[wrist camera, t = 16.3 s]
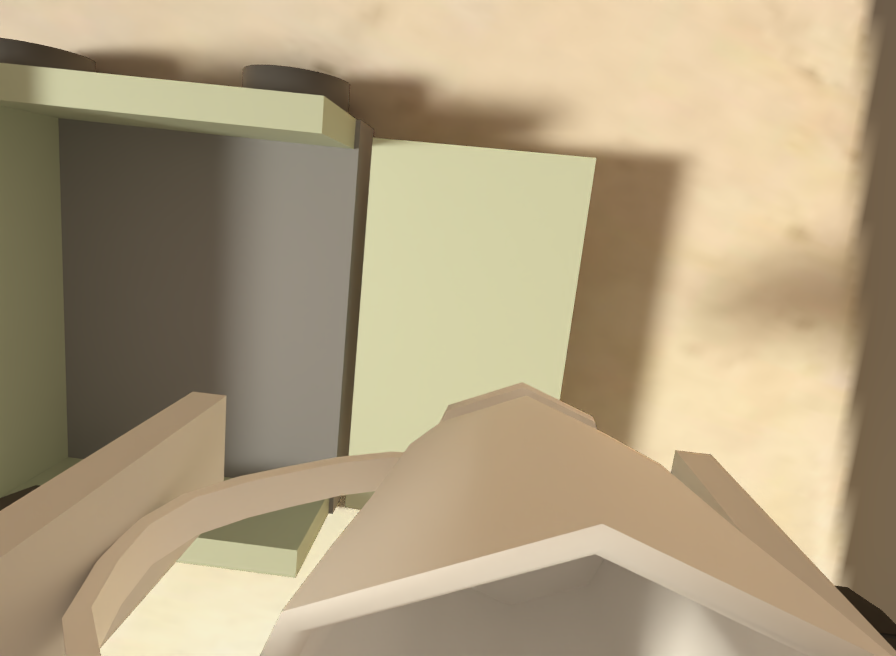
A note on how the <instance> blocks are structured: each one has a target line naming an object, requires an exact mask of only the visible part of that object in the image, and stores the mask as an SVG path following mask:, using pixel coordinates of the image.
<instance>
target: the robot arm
mask: <svg viewBox="0 0 896 656" xmlns="http://www.w3.org/2000/svg"><path fill="white" fill-rule="evenodd" d="M225 425H226V396H225V395H217V394H209V393H201V392H191V393H190V394H188V395H187V396H185V397H183V398H182V399H180V400H178V401H177V402H175V403H174V404H172V405H170V406H169V407H167V408H166V409H164V410H162V411H161V412H159V413H157V414H156V415H154V416H153V417H151V418H149V419H148V420H146V421H145V422H143V423H141V424H140V425H138V426H137V427H135V428H133V429H132V430H130V431H128V432H127V433H125V434H124V435H122V436H120V437H119V438H117V439H116V440H114V441H112V442H111V443H109V444H107V445H106V446H104V447H103V448H101V449H99V450H98V451H96V452H95V453H93V454H91V455H90V456H88V457H86V458H85V459H83V460H82V461H80V462H78V463H77V464H75V465H74V466H72V467H70V468H69V469H67V470H65V471H64V472H62V473H61V474H59V475H57V476H56V477H54V478H53V479H51V480H49V481H48V482H46V483H45V484H43V485H41V486H40V485H35V486H32V487H29V488H26V489H24V490H21V491H18V492H15V493H12V494H10V495H7V496H4V497H1V498H0V656H65V648H64V636H63V625H62V617H63V616H64V614H65V613H66V611H67V609H68V608H69V606H70V604H71V603H72V601H73V599H74V598H75V596H76V595H77V593H78V591H79V590H80V588H81V586H82V585H83V583H84V582H85V580H86V578H87V577H88V575H89V573H90V572H91V570H92V568H93V567H94V565H95V564H96V562H97V560H98V559H99V558H100V557H101V556H102V555H103V554H104V553H105V552H106V551H107V550H108V549H109V548H110V547H111V546H112V545H113V544H114V543H115V542H116V540H117V539H118V538H120V537H121V536H122V535H123V534H124V533H125V532H126V531H127V530H128V529H130V528H131V527H132V526H133V525H134V524H135V523H136V522H137V521H138V520H139V519H141V518H142V517H144V516H146V515H147V514H149V513H151V512H153V511H154V510H156V509H158V508H159V507H161V506H163V505H165V504H166V503H168V502H170V501H172V500H173V499H175V498H177V497H179V496H180V495H182V494H184V493H188V492H191V491H194V490H197V489H200V488H203V487H207V486H210V485H213V484H216V483H219V482H222V481H224V458H225ZM671 473H672V474H673V475H674V476H675V477H676V478H677V479H679V480H680V481H681V482H682V483H683V484H684V485H686V486H687V487H688V488H689V489H690V490H691V491H693V492H694V493H695V494H696V495H697V496H698V497H700V498H701V499H702V500H703V501H704V502H706V503H707V504H708V505H709V506H710V507H711V508H713V509H714V510H715V511H716V512H717V513H718V514H720V515H721V516H722V517H723V518H724V519H725V520H727V521H728V522H729V523H730V524H731V525H732V526H734V527H735V528H736V529H737V530H738V531H740V532H741V533H742V534H743V535H745V536H746V537H747V538H749V539H750V540H751V541H752V542H754V543H755V544H756V545H757V546H759V547H760V548H761V549H762V550H764V551H765V552H766V553H767V554H769V555H770V556H771V557H772V558H774V559H775V560H776V561H777V562H779V563H780V564H781V565H782V566H784V567H785V568H786V569H787V570H789V571H790V572H791V573H793V574H794V575H795V576H796V577H798V578H799V579H800V580H801V581H803V582H804V583H805V584H806V585H808V586H809V587H810V588H811V589H812V590H814V591H815V592H816V593H817V594H818V595H820V596H821V597H822V598H823V599H824V600H826V601H827V602H828V603H829V604H830V605H832V606H833V607H834V608H835V609H836V610H838V611H839V612H840V613H841V614H842V615H844V616H845V617H846V618H847V619H848V620H850V621H851V622H852V623H853V624H854V625H856V626H857V627H858V628H859V629H860V630H862V631H863V632H864V633H865V634H866V635H868V636H869V637H870V638H871V639H872V640H874V641H875V642H876V643H877V644H878V645H880V646H881V647H882V648H883V649H884V650H886V651H887V652H888V653H889V654H890V655H892V656H896V624H895V623H894V622H893V621H892V620H891V619H890V618H889V617H888V616H887V615H886V614H885V613H884V612H883V611H882V610H880V609H879V608H878V607H876V606H874V605H873V604H872V603H870V602H868V601H867V600H866V599H864V598H863V597H861V596H860V595H858V594H856V593H855V592H854V591H852V590H851V589H849V588H848V587H841V586H834V585H833V584H832V583H831V582H830V580H829V579H828V578H827V577H826V576H825V575H824V574H823V573H822V572H821V571H820V570H819V569H818V568H817V567H816V566H815V565H814V563H813V562H812V561H811V560H810V559H809V558H808V557H807V556H806V555H805V554H804V553H803V552H802V551H801V550H800V549H799V548H798V546H797V545H796V544H795V543H794V542H793V541H792V540H791V539H790V538H789V537H788V536H787V535H786V534H785V533H784V532H783V531H782V529H781V528H780V527H779V526H778V525H777V524H776V523H775V522H774V521H773V520H772V519H771V518H770V517H769V516H768V515H767V514H766V512H765V511H764V510H763V509H762V508H761V507H760V506H759V505H758V504H757V503H756V502H755V501H754V500H753V499H752V498H751V497H750V495H749V494H748V493H747V492H746V491H745V490H744V489H743V488H742V487H741V486H740V485H739V484H738V483H737V482H736V481H735V480H734V478H733V477H732V476H731V475H730V474H729V473H728V472H727V471H726V470H725V469H724V468H723V467H722V466H721V465H720V464H719V463H718V461H717V460H716V459H715V458H714V457H713V456H712V455H710V454H702V453H694V452H686V451H677V450H675V455H674V460H673V465H672V470H671ZM199 535H200V534H199ZM199 535H196V536H195V537H193V538H192V539H190V540H189V541H187V542H186V543H184V544H183V545H181V546H180V547H178V548H177V549H175V550H174V551H172V552H171V553H169V554H168V555H166V556H165V557H163V558H162V559H160V560H159V561H157V562H156V563H154V564H153V565H151V566H150V568H149V569H148V570H147V572H146V573H145V574H144V576H143V577H142V578H141V580H140V581H139V582H138V583H137V585H136V586H135V587H134V589H133V590H132V591H131V593H130V594H129V595H128V597H127V598H126V599H125V600H124V602H123V603H122V604H121V606H120V608H119V610H118V612H117V614H116V616H115V618H114V620H113V622H112V624H111V626H110V628H109V630H108V632H107V634H106V636H105V638H104V640H103V642H102V644H101V646H100V648H101V647H102V646H103V644H104V643H105V642H106V641H107V640H108V639H109V638H110V636H111V635H112V634H113V633H114V632H115V631H116V630H117V628H118V627H119V626H120V625H121V624H122V623H123V622H124V620H125V619H126V618H127V617H128V616H129V615H130V614H131V613H132V611H133V610H134V609H135V608H136V607H137V606H138V605H139V603H140V602H141V601H142V600H143V599H144V598H145V597H146V595H147V594H148V593H149V592H150V591H151V590H152V589H153V587H154V586H155V585H156V584H157V583H158V582H159V581H160V579H161V578H162V577H163V576H164V575H165V574H166V573H167V571H168V570H169V569H170V568H171V567H172V566H173V565H174V563H175V562H176V561H177V560H178V559H179V558H180V557H181V555H182V554H183V553H184V552H185V551H186V550H187V549H188V547H189V546H190V545H191V544H192V543H193V542H194V541H195V539H196V538H197V537H198V536H199ZM100 648H99V649H100Z"/></svg>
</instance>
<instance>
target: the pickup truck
mask: <svg viewBox="0 0 896 656" xmlns="http://www.w3.org/2000/svg"><path fill="white" fill-rule="evenodd" d="M349 93H350V85H349V84H348V83H347V82H346V81H344V80H342V79H339V78H336V77H334V76H330V75H327V74H323V73H319V72H315V71H310V70H305V69H300V68H293V67H286V66H276V65H250V66H246V67H244V68H243V80H242V87H233V86H223V85H213V84H203V83H193V82H184V81H174V80H164V79H154V78H144V77H135V76H125V75H115V74H105V73H96V68H95V62H94V61H93V60H91V59H89V58H86V57H84V56H81V55H78V54H75V53H72V52H68V51H65V50H61V49H57V48H53V47H48V46H44V45H39V44H35V43H29V42H24V41H18V40H12V39H5V38H0V498H1V497H4V496H7V495H10V494H12V493H15V492H18V491H21V490H24V489H26V488H29V487H32V486H35V485H40V486H41V485H43V484H45V483H46V482H48V481H49V480H51V479H53V478H54V477H56V476H57V475H59V474H61V473H62V472H64V471H65V470H67V469H69V468H70V467H72V466H74V465H75V464H77V463H78V462H80V461H82V460H83V459H85V458H86V457H88V456H90V455H91V454H93V453H95V452H96V451H98V450H99V449H101V448H103V447H104V446H106V445H107V444H109V443H111V442H112V441H114V440H116V439H117V438H119V437H120V436H122V435H124V434H125V433H127V432H128V431H130V430H132V429H133V428H135V427H137V426H138V425H140V424H141V423H143V422H145V421H146V420H148V419H149V418H151V417H153V416H154V415H156V414H157V413H159V412H161V411H162V410H164V409H166V408H167V407H169V406H170V405H172V404H174V403H175V402H177V401H178V400H180V399H182V398H183V397H185V396H187V395H188V394H190V393H191V392H201V393H209V394H217V395H225V396H226V425H225V458H224V481H226V480H229V479H232V478H235V477H238V476H243V475H248V474H253V473H258V472H263V471H267V470H272V469H277V468H282V467H287V466H292V465H298V464H303V463H309V462H314V461H319V460H325V459H330V458H336V457H343V456H349V445H350V432H351V418H352V405H353V392H354V379H355V366H356V353H357V339H358V326H359V313H360V300H361V287H362V274H363V261H364V247H365V234H366V221H367V208H368V195H369V182H370V168H371V155H372V142H373V136H374V129H373V128H371V127H370V126H369V125H367V124H366V123H365V122H363V121H362V120H359V119H355V118H354V117H352V116H351V115H350V114H348V108H349ZM341 496H342V495H341ZM341 496H336V497H332V498H328V499H323V500H319V501H315V502H310V503H306V504H301V505H297V506H293V507H289V508H285V509H281V510H277V511H273V512H269V513H265V514H261V515H257V516H253V517H249V518H246V519H243V520H240V521H237V522H234V523H231V524H228V525H225V526H222V527H219V528H216V529H213V530H210V531H207V532H204V533H202V534H200V535H199V536H198V537H197V538H196V539H195V541H194V542H193V543H192V544H191V545H190V546H189V547H188V549H187V550H186V551H185V552H184V553H183V554H182V555H181V557H180V558H179V559H178V560H177V561H176V562H179V563H187V564H194V565H202V566H210V567H217V568H225V569H232V570H240V571H247V572H255V573H263V574H270V575H278V576H285V577H293V578H296V576H297V574H298V572H299V570H300V568H301V566H302V564H303V562H304V560H305V558H306V556H307V555H308V553H309V551H310V549H311V547H312V545H313V543H314V541H315V539H316V537H317V535H318V533H319V531H320V529H321V527H322V525H323V523H324V521H325V519H326V517H327V515H328V513H331V514H333V512H334V510H335V508H336V506H337V504H338V502H339V500H340V498H341Z"/></svg>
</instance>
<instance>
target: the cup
mask: <svg viewBox="0 0 896 656" xmlns="http://www.w3.org/2000/svg"><path fill="white" fill-rule="evenodd" d="M372 491H375V492H374V494H373V495H372V496H371V498H370V499H369V500H368V502H367V503H366V504H365V505H364V506H363V508H362V509H361V510H360V511H359V513H358V514H357V515H356V516H355V517H354V519H353V520H352V521H351V522H350V524H349V525H348V526H347V527H346V528H345V530H344V531H343V532H342V533H341V534H340V536H339V537H338V538H337V539H336V541H335V542H334V543H333V544H332V546H331V547H330V548H329V550H328V551H327V552H326V553H325V555H324V556H323V557H322V559H321V560H320V561H319V563H318V564H317V565H316V567H315V568H314V569H313V571H312V572H311V573H310V575H309V576H308V577H307V578H306V580H305V581H304V582H303V584H302V585H301V586H300V588H299V589H298V590H297V592H296V593H295V594H294V596H293V597H292V598H291V599H290V601H289V602H288V603H287V605H286V606H285V607H284V609H283V610H282V611H281V613H280V615H279V617H278V619H277V621H276V623H275V625H274V628H273V630H272V632H271V634H270V636H269V638H268V640H267V642H266V644H265V646H264V648H263V650H262V652H261V654H260V656H892V655H890V654H889V653H888V652H887V651H886V650H884V649H883V648H882V647H881V646H880V645H878V644H877V643H876V642H875V641H874V640H872V639H871V638H870V637H869V636H868V635H866V634H865V633H864V632H863V631H862V630H860V629H859V628H858V627H857V626H856V625H854V624H853V623H852V622H851V621H850V620H848V619H847V618H846V617H845V616H844V615H842V614H841V613H840V612H839V611H838V610H836V609H835V608H834V607H833V606H832V605H830V604H829V603H828V602H827V601H826V600H824V599H823V598H822V597H821V596H820V595H818V594H817V593H816V592H815V591H814V590H812V589H811V588H810V587H809V586H808V585H806V584H805V583H804V582H803V581H801V580H800V579H799V578H798V577H796V576H795V575H794V574H793V573H791V572H790V571H789V570H787V569H786V568H785V567H784V566H782V565H781V564H780V563H779V562H777V561H776V560H775V559H774V558H772V557H771V556H770V555H769V554H767V553H766V552H765V551H764V550H762V549H761V548H760V547H759V546H757V545H756V544H755V543H754V542H752V541H751V540H750V539H749V538H747V537H746V536H745V535H743V534H742V533H741V532H740V531H738V530H737V529H736V528H735V527H734V526H732V525H731V524H730V523H729V522H728V521H727V520H725V519H724V518H723V517H722V516H721V515H720V514H718V513H717V512H716V511H715V510H714V509H713V508H711V507H710V506H709V505H708V504H707V503H706V502H704V501H703V500H702V499H701V498H700V497H698V496H697V495H696V494H695V493H694V492H693V491H691V490H690V489H689V488H688V487H687V486H686V485H684V484H683V483H682V482H681V481H680V480H679V479H677V478H676V477H675V476H674V475H673V474H672V473H670V472H669V471H668V470H667V469H666V468H664V467H663V466H662V465H661V464H659V463H658V462H656V461H654V460H652V459H650V458H649V457H647V456H645V455H643V454H641V453H640V452H638V451H636V450H634V449H632V448H631V447H629V446H627V445H625V444H623V443H622V442H620V441H618V440H616V439H614V438H613V437H611V436H609V435H607V434H605V433H603V432H601V431H599V430H597V426H596V423H595V421H594V419H593V417H592V416H591V415H589V414H587V413H585V412H583V411H581V410H579V409H576V408H574V407H572V406H570V405H568V404H566V403H564V402H562V401H560V400H558V399H556V398H554V397H552V396H550V395H548V394H546V393H544V392H542V391H540V390H537V389H535V388H533V387H531V386H529V385H527V384H525V383H523V382H521V383H518V384H515V385H511V386H508V387H505V388H502V389H499V390H495V391H492V392H489V393H486V394H482V395H479V396H476V397H473V398H470V399H466V400H463V401H460V402H457V403H453V404H450V405H448V407H447V409H446V411H445V413H444V415H443V417H442V419H441V421H440V423H439V424H437V425H436V426H435V427H433V428H432V429H430V430H429V431H428V432H426V433H425V434H423V435H422V436H421V437H419V438H418V439H417V440H415V441H414V442H412V443H411V444H410V445H409V446H408V448H407V449H406V450H405V452H392V451H391V452H382V453H372V454H362V455H353V456H343V457H336V458H330V459H325V460H319V461H314V462H309V463H303V464H298V465H292V466H287V467H282V468H277V469H272V470H267V471H263V472H258V473H253V474H248V475H243V476H238V477H235V478H232V479H229V480H226V481H222V482H219V483H216V484H213V485H210V486H207V487H203V488H200V489H197V490H194V491H191V492H188V493H184V494H182V495H180V496H179V497H177V498H175V499H173V500H172V501H170V502H168V503H166V504H165V505H163V506H161V507H159V508H158V509H156V510H154V511H153V512H151V513H149V514H147V515H146V516H144V517H142V518H141V519H139V520H138V521H137V522H136V523H135V524H134V525H133V526H132V527H131V528H130V529H128V530H127V531H126V532H125V533H124V534H123V535H122V536H121V537H120V538H118V539H117V540H116V542H115V543H114V544H113V545H112V546H111V547H110V548H109V549H108V550H107V551H106V552H105V553H104V554H103V555H102V556H101V557H100V558H99V559H98V560H97V562H96V564H95V565H94V567H93V568H92V570H91V572H90V573H89V575H88V577H87V578H86V580H85V582H84V583H83V585H82V586H81V588H80V590H79V591H78V593H77V595H76V596H75V598H74V599H73V601H72V603H71V604H70V606H69V608H68V609H67V611H66V613H65V614H64V616H63V617H62V625H63V636H64V648H65V656H101V654H100V649H99V648H100V646H101V644H102V642H103V640H104V638H105V636H106V634H107V632H108V630H109V628H110V626H111V624H112V622H113V620H114V618H115V616H116V614H117V612H118V610H119V608H120V606H121V604H122V603H123V602H124V600H125V599H126V598H127V597H128V595H129V594H130V593H131V591H132V590H133V589H134V587H135V586H136V585H137V583H138V582H139V581H140V580H141V578H142V577H143V576H144V574H145V573H146V572H147V570H148V569H149V568H150V566H151V565H153V564H154V563H156V562H157V561H159V560H160V559H162V558H163V557H165V556H166V555H168V554H169V553H171V552H172V551H174V550H175V549H177V548H178V547H180V546H181V545H183V544H184V543H186V542H187V541H189V540H190V539H192V538H193V537H195V536H196V535H199V534H202V533H204V532H207V531H210V530H213V529H216V528H219V527H222V526H225V525H228V524H231V523H234V522H237V521H240V520H243V519H246V518H249V517H253V516H257V515H261V514H265V513H269V512H273V511H277V510H281V509H285V508H289V507H293V506H297V505H301V504H306V503H310V502H315V501H319V500H323V499H328V498H332V497H336V496H341V495H349V494H357V493H365V492H372Z"/></svg>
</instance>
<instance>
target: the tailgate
mask: <svg viewBox="0 0 896 656" xmlns="http://www.w3.org/2000/svg"><path fill="white" fill-rule="evenodd" d="M595 164H596V158H592V157H581V156H570V155H559V154H548V153H537V152H526V151H516V150H505V149H494V148H483V147H472V146H461V145H450V144H439V143H428V142H417V141H406V140H395V139H384V138H373V142H372V155H371V168H370V182H369V195H368V208H367V221H366V234H365V247H364V261H363V274H362V287H361V300H360V313H359V326H358V339H357V353H356V366H355V379H354V392H353V405H352V418H351V432H350V445H349V456H353V455H362V454H372V453H382V452H391V451H392V452H405V450H406V449H407V448H408V446H409V445H410V444H411V443H412V442H414V441H415V440H417V439H418V438H419V437H421V436H422V435H423V434H425V433H426V432H428V431H429V430H430V429H432V428H433V427H435V426H436V425H437V424H439V423H440V421H441V419H442V417H443V415H444V413H445V411H446V409H447V407H448V405H450V404H453V403H457V402H460V401H463V400H466V399H470V398H473V397H476V396H479V395H482V394H486V393H489V392H492V391H495V390H499V389H502V388H505V387H508V386H511V385H515V384H518V383H521V382H523V383H525V384H527V385H529V386H531V387H533V388H535V389H537V390H540V391H542V392H544V393H546V394H548V395H550V396H552V397H554V398H556V399H558V400H560V395H561V388H562V381H563V375H564V368H565V362H566V355H567V348H568V342H569V335H570V329H571V322H572V315H573V309H574V302H575V296H576V289H577V283H578V276H579V269H580V263H581V256H582V250H583V243H584V236H585V230H586V223H587V217H588V210H589V203H590V197H591V190H592V184H593V177H594V171H595ZM374 492H375V491H372V492H365V493H357V494H349V495H346V497H345V507H348V508H353V509H358V510H361V509H362V508H363V506H364V505H365V504H366V503H367V502H368V500H369V499H370V498H371V496H372V495H373V494H374Z"/></svg>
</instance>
